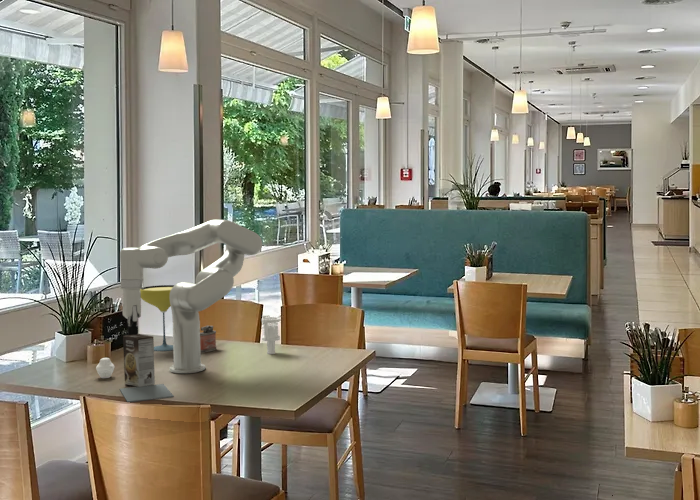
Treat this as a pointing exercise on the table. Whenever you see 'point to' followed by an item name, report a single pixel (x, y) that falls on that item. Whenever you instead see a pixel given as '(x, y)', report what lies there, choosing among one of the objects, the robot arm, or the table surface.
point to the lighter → (207, 339)
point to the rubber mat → (146, 393)
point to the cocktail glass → (159, 306)
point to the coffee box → (139, 360)
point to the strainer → (270, 332)
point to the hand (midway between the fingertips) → (133, 337)
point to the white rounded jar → (105, 368)
